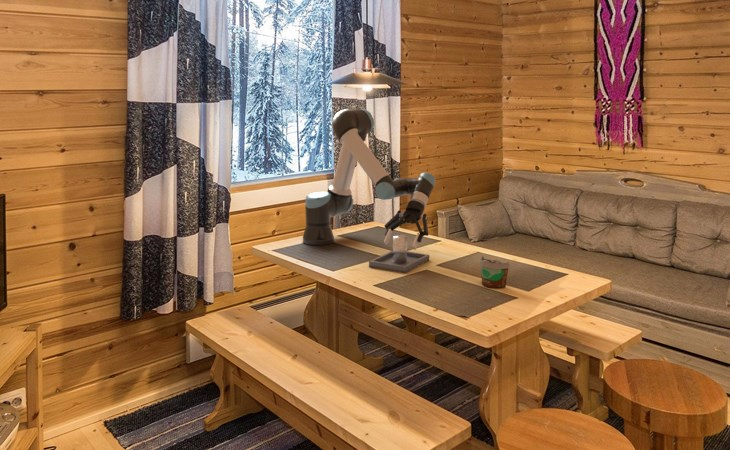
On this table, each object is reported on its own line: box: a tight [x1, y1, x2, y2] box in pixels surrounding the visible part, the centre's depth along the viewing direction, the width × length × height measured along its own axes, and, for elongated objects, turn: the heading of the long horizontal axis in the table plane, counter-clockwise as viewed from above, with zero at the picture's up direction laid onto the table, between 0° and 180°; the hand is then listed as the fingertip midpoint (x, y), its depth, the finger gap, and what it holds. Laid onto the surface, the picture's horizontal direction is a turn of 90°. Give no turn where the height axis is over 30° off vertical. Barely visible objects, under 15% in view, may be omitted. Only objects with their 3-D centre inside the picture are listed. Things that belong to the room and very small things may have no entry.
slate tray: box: [368, 250, 430, 274], centre depth 266 cm, size 17×22×2 cm
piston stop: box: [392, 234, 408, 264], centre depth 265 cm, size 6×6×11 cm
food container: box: [478, 256, 511, 290], centre depth 235 cm, size 12×6×10 cm, turn 44°
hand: (399, 245), depth 264 cm, fingers open, 13 cm apart
